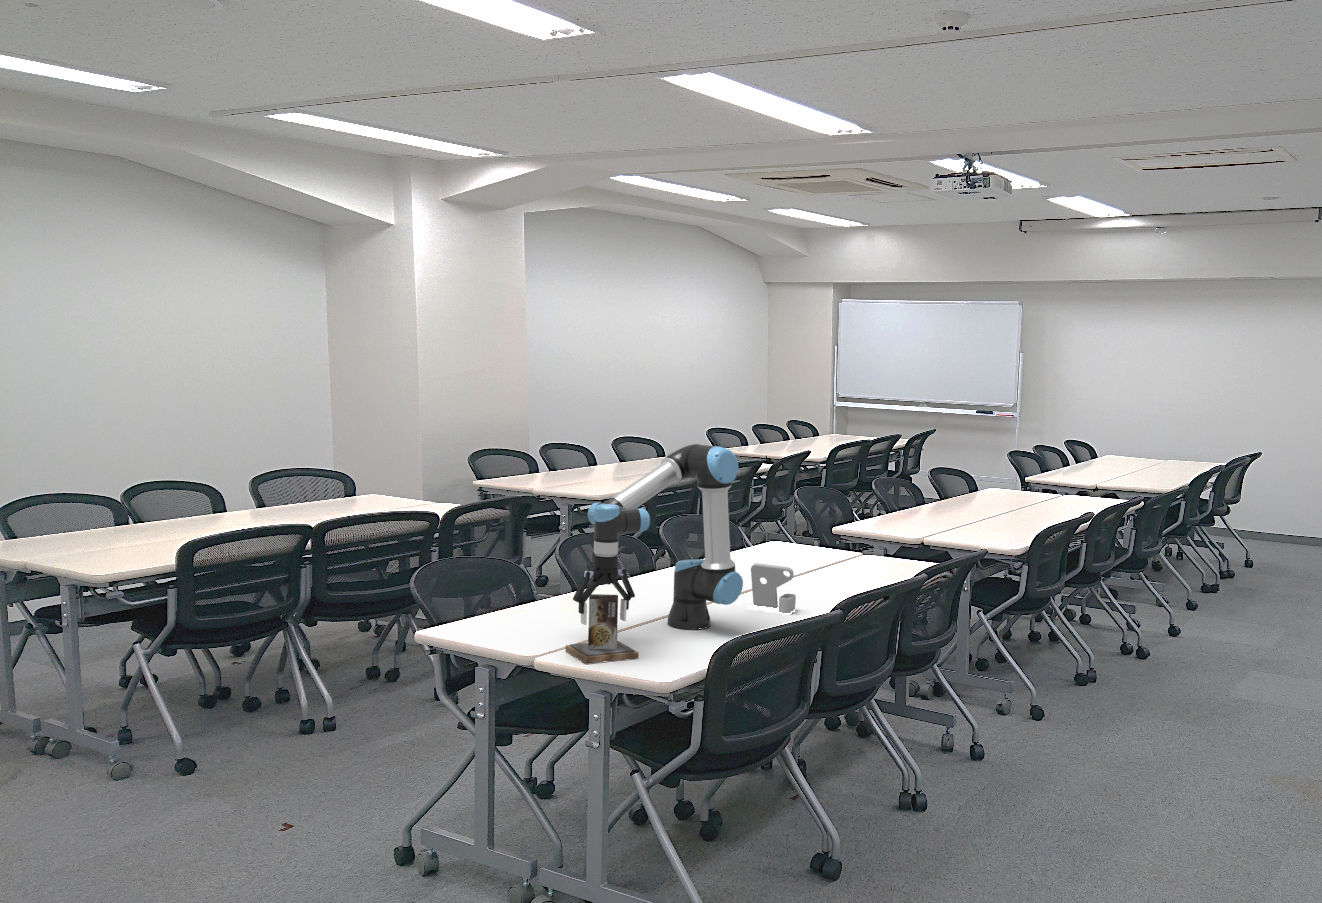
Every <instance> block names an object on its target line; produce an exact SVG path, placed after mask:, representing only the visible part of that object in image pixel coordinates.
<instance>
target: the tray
mask: <svg viewBox="0 0 1322 903" xmlns="http://www.w3.org/2000/svg"><path fill="white" fill-rule="evenodd" d="M565 651H566V652H565V653H567V652H568V653H569V655H570V654H571V655H570V656H572V655H573V656H575V657H576V658H578V659H580V660H581V661H583V662H584V663H593V664H595V663H594V662H602V663H604V662H603V661H612V662H615V661H614V660H621V661H627V660H626V659H630V660H636V659H635V658H638V659H639V655H640V654H639V651H637V650H635V648H634V649H633V648H632V647H630V646H628V645H626V644H624V643H623V642H621V641H619V640H617V650H605V649H588V642H581V643H579V642H578V643H570V644H567V645H565ZM568 653H567V654H568ZM573 656H572V657H573ZM575 657H574V658H575ZM576 658H575V659H576ZM578 659H577V660H578ZM580 660H579V661H580ZM581 661H580V662H581ZM583 662H582V663H583ZM584 663H583V664H584Z"/></svg>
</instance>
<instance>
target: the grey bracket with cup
mask: <svg viewBox="0 0 1322 903" xmlns="http://www.w3.org/2000/svg"><path fill="white" fill-rule="evenodd" d="M784 572H787V573H789V576H787V575H785V574H784ZM750 576H751V577H750V578H751V590H752V600H753V601H752V602H753V604H754V605H757V606H766V607H773V608H777V607H779V612H782V613H790V612H791V611H793V610H794V609H796V601H797V600H796V599H797V598H796V597H797V596H796V594H795V593H784V594H783V595H781V596H779V598H778V588H779V587H780V586H782V585H784V584H786V583H788V582H790V581H791V580H793V578H794V570H793V569H792V568H791V567H789V566H783V565H782V566H781V565H773V564H764V563H757V562H756V563H754V564H752V566H751V567H750ZM761 579H765V580H766V583H762V581H761Z"/></svg>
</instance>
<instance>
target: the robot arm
mask: <svg viewBox="0 0 1322 903" xmlns="http://www.w3.org/2000/svg"><path fill="white" fill-rule="evenodd" d="M738 474H739V462H738V458H737V455H735V453H734V452H733V451H732V450H731V449H729V448H726V447H722V446H720V445H719V446H715V445H707V444H706V445H705V444H699V443H694V444H688V445H686V446H683V447H681V448H678V449H676V450H675V451H673V452H671V453H670V454H668V455H666V456H665V457H664V458H663V459H662V460H661V461H660V463H659V465H657V466H656V467H654V468H653V469H652V470H650V471H649V472H647V473H645V474H644V475H643V476H642V477H640V478H639V479H636V481H634V482H632V483H631V484H630V485H629V486H627V487H625V488H624V489H622V490H620V491H619V492H618V493H616V494H615V495H613V496H612V497H610V498H608V499H607V500H606V501H605V502H601V501H599V502H594V503H593V504H591V505H590V506H589V508H588V509H587V510H588V511H587V518H588V522H590V523H591V524H592V525H594V527H593V528H594V529H593V530H594V532H593V533H594V534H593V535H594V536H593V537H594V538H593V553H594V555H593V556H592V557H593V559H592V560H593V566H592V567H593V569H592V571H588V570H586V569H585V570H584V571H583V574H582V579H581V580H580V582H579V584H578V587H577V589H576V591H575V593H574V595H573V597H572V600H573V601H574V602H576V603H578V613H579V614H580V624H582V625H584V626H587V619H588V603H586V602H587V601H588V600H589V597H590V595H591V594H593V593H594V592H595V590H596V589H597V588H598V587H599V586H604V585H611V584H612V585H613V587H614V589H616V590H617V592H618V593H619V595H620V596H621V597H622V598H620V604H619V605H620V607H619V608H620V610H619V620H620V621H623V622H626V621H627V610H628V611H629V608H630V601H631V599H632V598H635V597H636V594H635V592H634V589H633V587H632V585H631V583H630V580H629V578H628V573H627V569H626V568H624V567H620V568H619V569H618V565H619V564H618V558H619V556H618V554H619V539H620V538H619V537H620V535H624V534H635V533H636V534H639V533H642V532H646V531H647V530H648V529H649V527H650V525H651V517H650V514H649V512H648V510H646V509H644V508H643V507H642V508H639V507H640V506H642V505H643V504H644V503H646V502H648V501H649V500H651V498H653V497H655V496H656V495H657V494H659V493H660V492H662V491H663V490H665V489H667V488H668V487H669V486H670V485H672V484H678V483H680V482H681V481H683V480H687V479H696V480H697V481H696V485H697V486H696V487H697V488H698V490H700V491H701V495H702V498H701V499H702V517H703V518H702V519H703V537H704V539H703V540H704V559H702V558H701V559H699V558H697V559H683V560H678V561H677V562H675V565H674V573H673V574H674V575H673V600H672V601H673V602H672V605H671V607H670V610H669V614H668V615H667V625H668V626H670V627H673V628H676V629H680V628H681V629H680V630H691V629H695V630H700V629H699V628H705V627H708V626H710V627H711V617H710V612H709V609H708V606H707V601H708V602H711V603H715V604H717V605H724V606H726V605H727V606H729V605H732V604H733V603H734V602H736V601H737V599H739V596H741V594H742V590H743V588H744V580H743V577H742V575H741V574H740V573H739V572H737V571H736V562H734V561H733V560H732V558H731V540H730V519H729V518H730V516H729V493H728V492H729V490H730V488H732V487H733V486H732V485H733V481H734V480H735V479H736V478H737V475H738ZM617 576H619V577H620V579H621V581H622V584H623V585H624V588H623V586H622V585H621V584H620V582H619V581H618V580H617V578H616V577H617ZM592 577H593V578H592ZM591 578H592V580H591V581H590V579H591ZM589 582H590V584H589ZM588 584H589V585H588ZM708 628H709V627H708ZM705 629H706V628H705Z"/></svg>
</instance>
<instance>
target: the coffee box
mask: <svg viewBox="0 0 1322 903" xmlns="http://www.w3.org/2000/svg"><path fill="white" fill-rule="evenodd" d="M618 615H619V594H602V593H601V594H597V593H596V594H595V593H594V594H593V593H592V594H591V595H590V597H589V598H588V631H587V632H588V634H587V643H588V649H605V650H617V641H618V621H619V619H618V618H619V616H618Z"/></svg>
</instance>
